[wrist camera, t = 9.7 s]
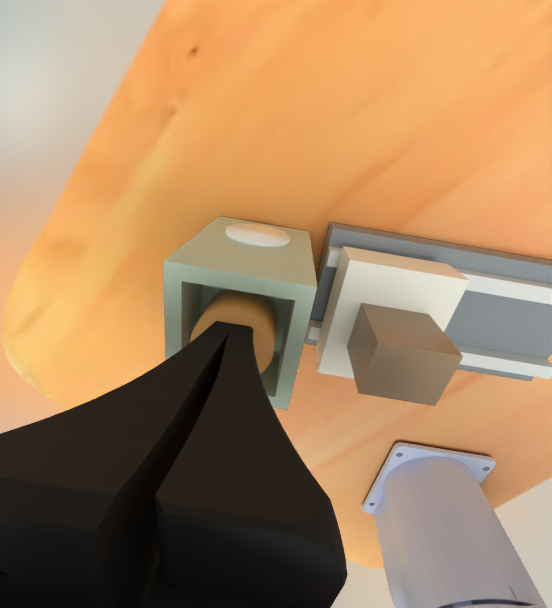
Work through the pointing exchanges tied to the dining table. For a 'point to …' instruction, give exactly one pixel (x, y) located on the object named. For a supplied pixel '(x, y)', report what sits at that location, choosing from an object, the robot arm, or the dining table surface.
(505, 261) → the rail track
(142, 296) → the dining table surface
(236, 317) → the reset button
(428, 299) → the carriage
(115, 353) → the dining table surface
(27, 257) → the dining table surface
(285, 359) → the cabinet
